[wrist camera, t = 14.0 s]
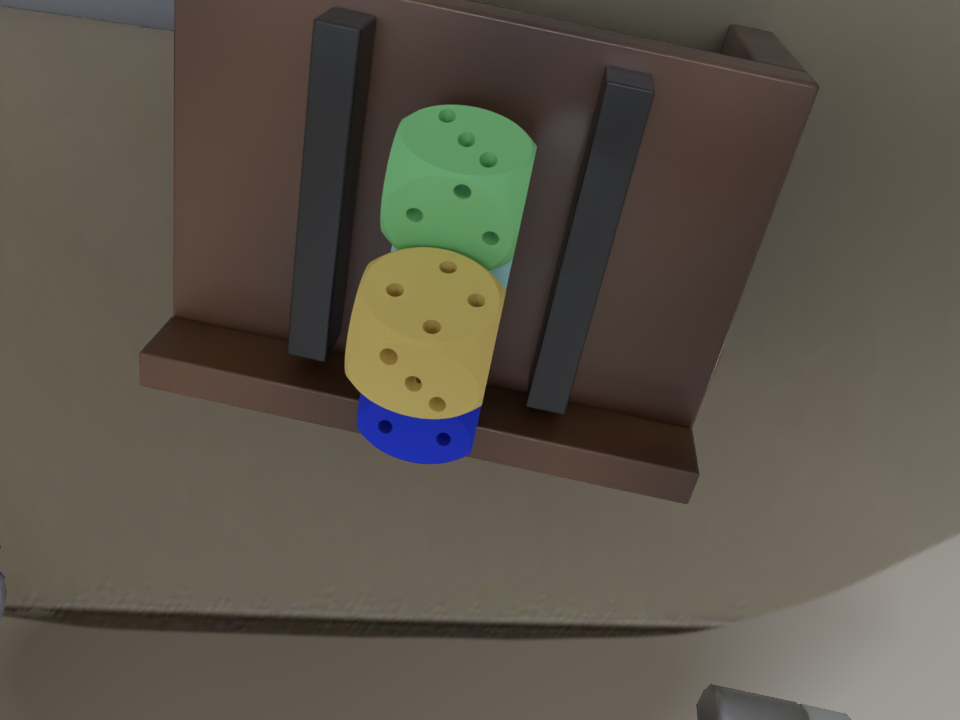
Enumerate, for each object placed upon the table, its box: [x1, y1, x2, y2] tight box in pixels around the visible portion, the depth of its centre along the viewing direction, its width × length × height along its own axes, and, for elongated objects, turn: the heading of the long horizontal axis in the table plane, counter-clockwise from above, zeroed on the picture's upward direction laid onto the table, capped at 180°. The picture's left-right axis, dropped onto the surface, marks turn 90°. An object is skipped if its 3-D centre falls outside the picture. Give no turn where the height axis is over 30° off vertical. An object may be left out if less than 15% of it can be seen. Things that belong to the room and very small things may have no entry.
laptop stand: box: [140, 0, 819, 504], centre depth 23 cm, size 14×10×8 cm
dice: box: [345, 105, 537, 464], centre depth 19 cm, size 8×3×6 cm, turn 170°
